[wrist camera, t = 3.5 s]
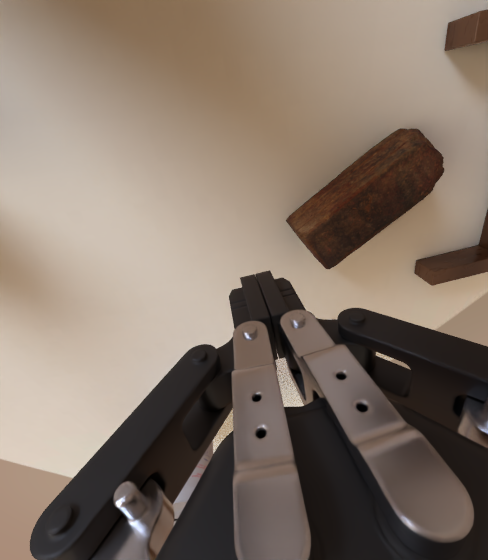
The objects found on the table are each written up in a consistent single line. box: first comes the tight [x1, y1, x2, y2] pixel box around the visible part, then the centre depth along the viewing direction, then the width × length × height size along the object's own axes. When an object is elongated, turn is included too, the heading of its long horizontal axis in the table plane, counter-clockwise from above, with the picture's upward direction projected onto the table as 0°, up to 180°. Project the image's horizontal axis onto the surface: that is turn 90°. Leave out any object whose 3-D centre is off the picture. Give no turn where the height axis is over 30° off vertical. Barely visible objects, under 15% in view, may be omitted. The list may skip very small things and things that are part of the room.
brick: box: [286, 129, 444, 269], centre depth 22 cm, size 11×4×5 cm, turn 130°
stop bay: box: [415, 10, 488, 285], centre depth 23 cm, size 8×20×2 cm, turn 11°
